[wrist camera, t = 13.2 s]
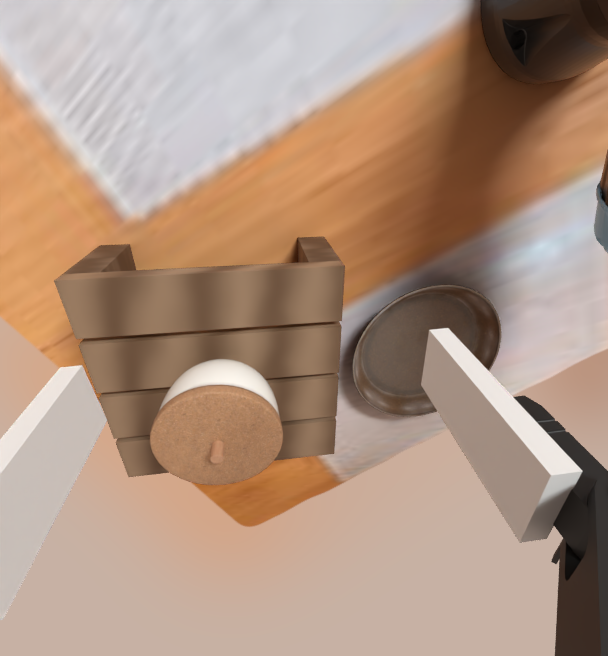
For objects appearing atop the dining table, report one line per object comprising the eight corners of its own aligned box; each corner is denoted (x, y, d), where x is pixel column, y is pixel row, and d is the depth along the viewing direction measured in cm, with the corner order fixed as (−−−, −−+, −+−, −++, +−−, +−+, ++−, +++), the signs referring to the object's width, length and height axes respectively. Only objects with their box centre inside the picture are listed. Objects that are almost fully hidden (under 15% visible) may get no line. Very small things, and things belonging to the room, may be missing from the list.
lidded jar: (289, 351, 35) (302, 418, 26) (262, 429, 39) (265, 507, 31) (177, 328, 32) (152, 397, 24) (162, 416, 36) (136, 498, 28)
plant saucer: (431, 243, 42) (444, 251, 39) (514, 333, 51) (530, 345, 48) (316, 357, 48) (320, 372, 45) (408, 421, 57) (416, 436, 54)
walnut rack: (323, 236, 40) (344, 266, 31) (319, 399, 51) (334, 453, 43) (99, 245, 37) (54, 280, 28) (150, 415, 49) (128, 477, 40)
